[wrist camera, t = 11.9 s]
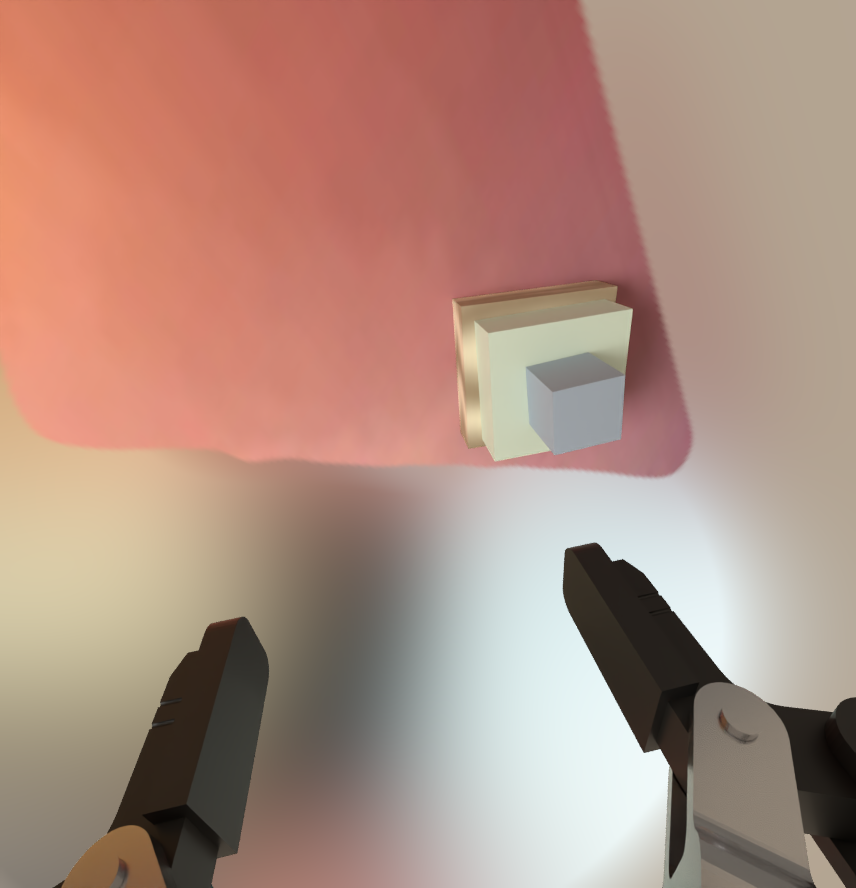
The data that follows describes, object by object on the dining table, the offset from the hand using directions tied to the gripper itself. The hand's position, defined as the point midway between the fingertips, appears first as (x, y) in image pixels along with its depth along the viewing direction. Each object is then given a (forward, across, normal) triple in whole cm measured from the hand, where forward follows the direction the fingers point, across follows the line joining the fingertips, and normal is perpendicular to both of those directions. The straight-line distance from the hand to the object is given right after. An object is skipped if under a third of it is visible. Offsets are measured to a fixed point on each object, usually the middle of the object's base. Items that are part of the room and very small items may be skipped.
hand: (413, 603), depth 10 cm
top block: (+26, -14, +6) cm, 30 cm away
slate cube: (+22, -14, +6) cm, 26 cm away
